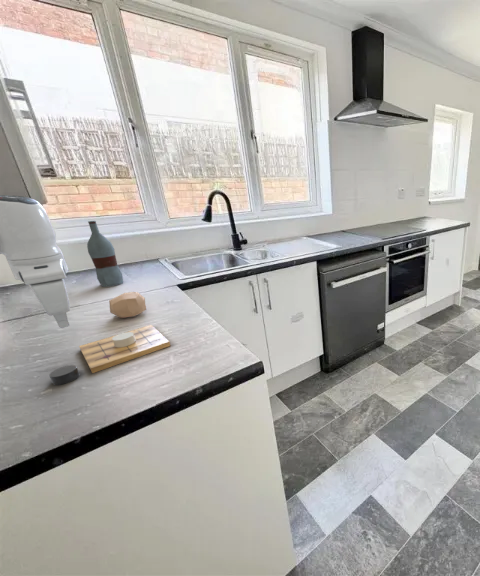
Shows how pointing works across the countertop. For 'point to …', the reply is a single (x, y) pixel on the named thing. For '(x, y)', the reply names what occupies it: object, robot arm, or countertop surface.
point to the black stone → (64, 375)
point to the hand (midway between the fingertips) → (61, 320)
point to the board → (122, 348)
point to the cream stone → (123, 339)
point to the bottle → (103, 258)
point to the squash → (127, 305)
